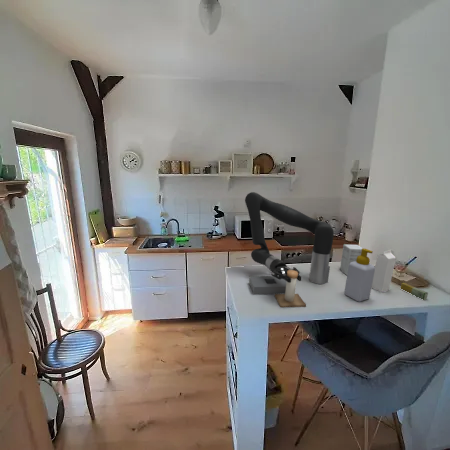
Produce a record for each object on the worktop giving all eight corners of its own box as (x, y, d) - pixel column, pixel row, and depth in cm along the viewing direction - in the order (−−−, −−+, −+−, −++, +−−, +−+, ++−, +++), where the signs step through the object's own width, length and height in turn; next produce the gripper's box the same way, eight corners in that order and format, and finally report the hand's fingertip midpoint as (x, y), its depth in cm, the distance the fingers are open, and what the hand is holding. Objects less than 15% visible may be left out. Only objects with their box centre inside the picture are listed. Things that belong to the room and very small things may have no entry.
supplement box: (361, 276, 149) (366, 249, 145) (346, 275, 149) (350, 249, 145) (353, 269, 159) (358, 244, 155) (339, 269, 159) (343, 243, 155)
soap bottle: (359, 302, 120) (367, 253, 114) (342, 294, 127) (350, 247, 121) (370, 298, 124) (379, 251, 118) (354, 290, 131) (362, 245, 125)
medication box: (427, 300, 125) (428, 292, 124) (423, 300, 124) (425, 293, 123) (403, 288, 136) (404, 282, 135) (399, 289, 135) (401, 282, 134)
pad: (297, 295, 124) (297, 293, 124) (305, 306, 115) (306, 304, 114) (274, 296, 123) (274, 294, 123) (280, 307, 113) (280, 305, 113)
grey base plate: (284, 282, 138) (285, 275, 137) (292, 293, 126) (293, 286, 125) (249, 283, 136) (249, 276, 135) (253, 294, 124) (254, 287, 123)
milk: (388, 290, 133) (397, 251, 127) (381, 292, 130) (389, 253, 125) (378, 285, 138) (386, 248, 133) (370, 287, 136) (378, 249, 130)
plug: (292, 296, 121) (295, 270, 118) (296, 301, 117) (299, 274, 113) (282, 296, 121) (285, 269, 117) (286, 302, 116) (289, 274, 113)
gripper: (264, 260, 125) (283, 274, 110) (288, 257, 130) (309, 270, 115) (262, 273, 127) (281, 289, 112) (286, 270, 132) (307, 285, 117)
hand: (295, 279), depth 114 cm, fingers open, 5 cm apart
